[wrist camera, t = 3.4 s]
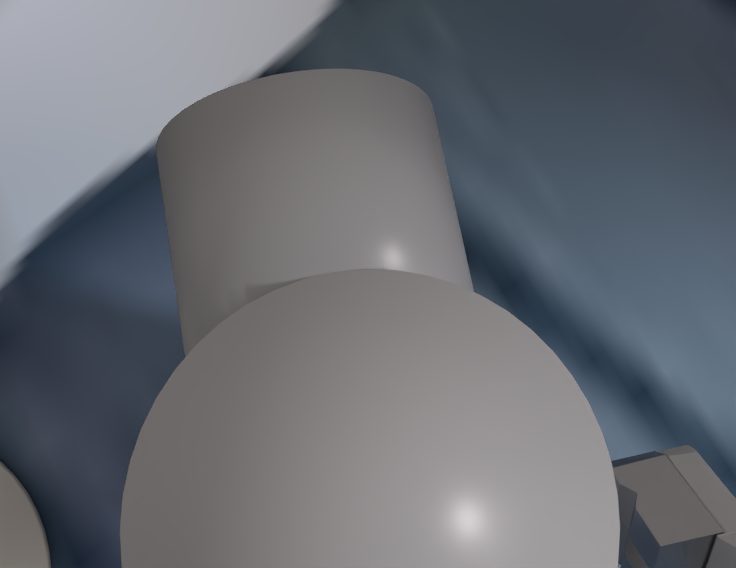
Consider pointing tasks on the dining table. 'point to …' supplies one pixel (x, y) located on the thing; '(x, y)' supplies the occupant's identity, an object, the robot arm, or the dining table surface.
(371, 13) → the dining table surface
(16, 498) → the flange
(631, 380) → the dining table surface
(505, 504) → the elbow
